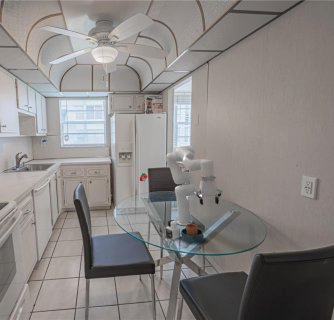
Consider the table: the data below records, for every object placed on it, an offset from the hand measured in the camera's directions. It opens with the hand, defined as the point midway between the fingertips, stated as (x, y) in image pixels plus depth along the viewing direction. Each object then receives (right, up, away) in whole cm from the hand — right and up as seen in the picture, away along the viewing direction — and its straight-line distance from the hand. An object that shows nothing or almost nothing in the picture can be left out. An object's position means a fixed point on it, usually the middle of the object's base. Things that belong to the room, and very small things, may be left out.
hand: (209, 204), depth 141 cm
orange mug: (-9, -25, +6) cm, 27 cm away
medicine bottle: (-21, -26, +11) cm, 35 cm away
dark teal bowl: (-9, -25, +5) cm, 27 cm away
